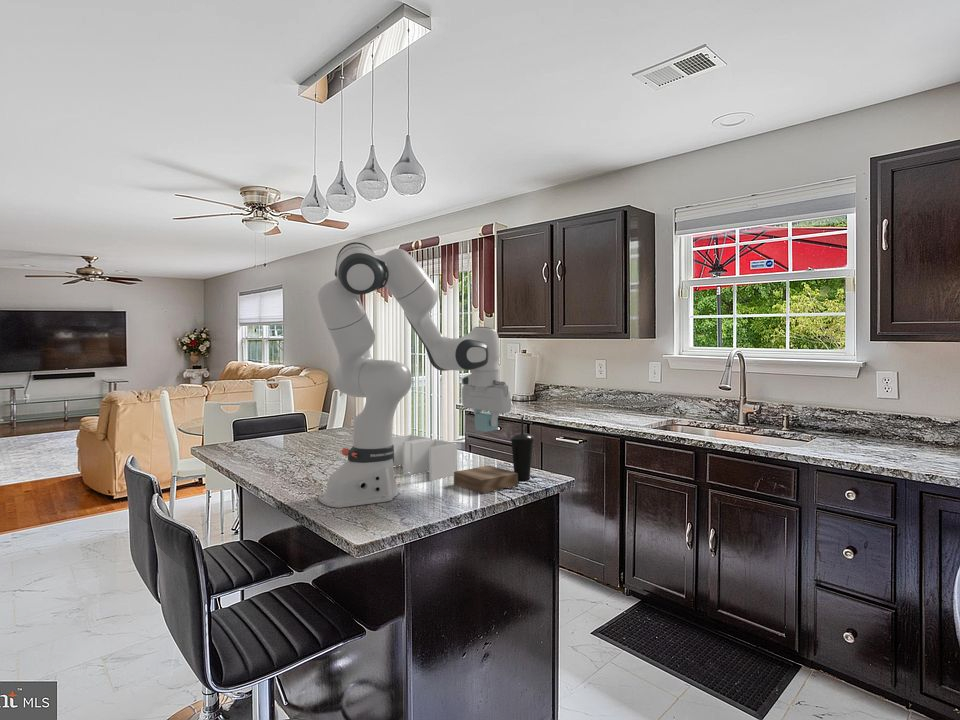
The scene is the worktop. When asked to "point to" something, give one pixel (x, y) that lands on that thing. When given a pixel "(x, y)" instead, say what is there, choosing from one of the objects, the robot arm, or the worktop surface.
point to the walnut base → (485, 479)
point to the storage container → (425, 456)
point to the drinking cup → (522, 453)
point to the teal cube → (484, 422)
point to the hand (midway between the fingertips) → (486, 424)
